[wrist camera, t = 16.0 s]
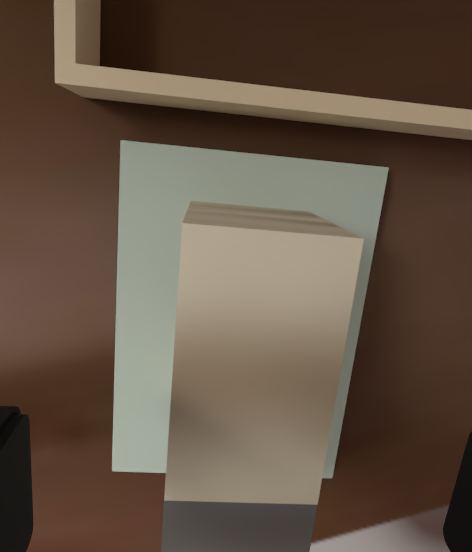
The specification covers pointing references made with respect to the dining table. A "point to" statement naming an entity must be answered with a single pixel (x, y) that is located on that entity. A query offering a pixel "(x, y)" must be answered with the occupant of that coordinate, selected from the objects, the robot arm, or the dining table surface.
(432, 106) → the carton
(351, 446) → the dining table surface
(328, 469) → the mat
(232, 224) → the block
